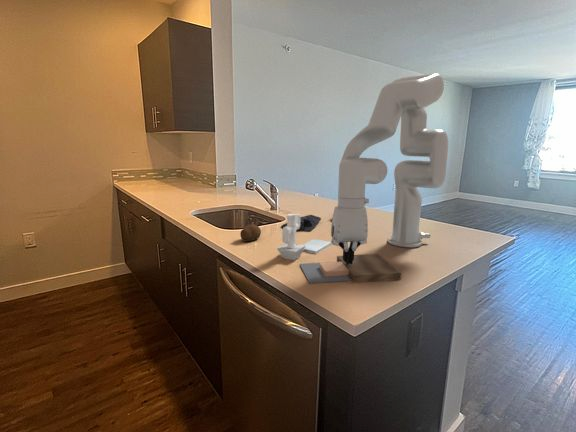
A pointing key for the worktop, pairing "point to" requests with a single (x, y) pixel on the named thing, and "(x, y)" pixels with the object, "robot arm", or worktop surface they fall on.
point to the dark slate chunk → (307, 223)
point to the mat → (320, 274)
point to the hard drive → (316, 246)
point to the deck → (370, 268)
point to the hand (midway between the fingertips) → (348, 262)
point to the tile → (334, 269)
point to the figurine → (291, 238)
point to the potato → (250, 233)
